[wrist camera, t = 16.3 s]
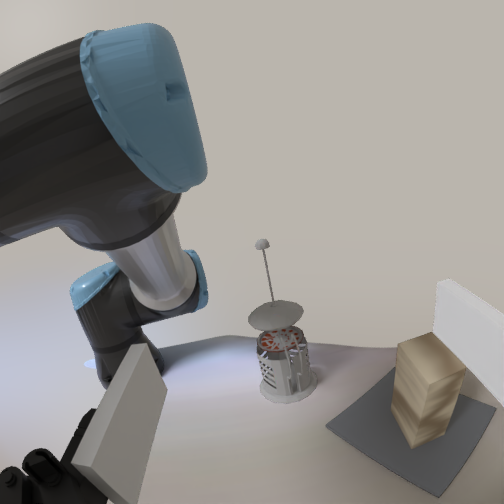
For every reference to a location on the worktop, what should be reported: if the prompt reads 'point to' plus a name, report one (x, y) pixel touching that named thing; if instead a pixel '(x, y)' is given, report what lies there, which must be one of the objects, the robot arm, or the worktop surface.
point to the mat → (396, 446)
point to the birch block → (425, 388)
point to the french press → (282, 348)
